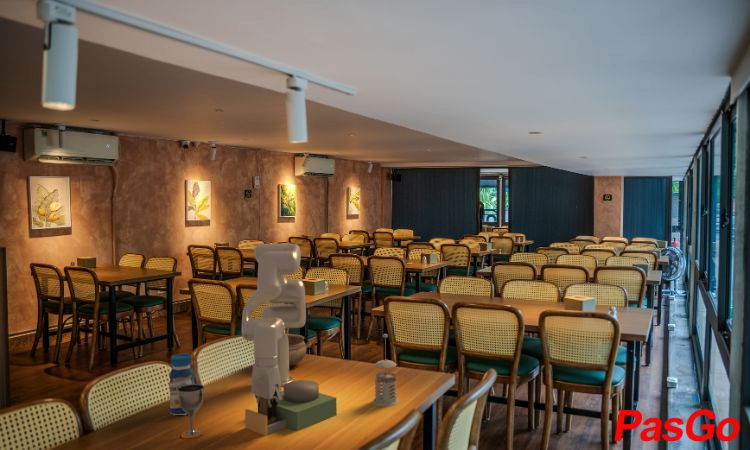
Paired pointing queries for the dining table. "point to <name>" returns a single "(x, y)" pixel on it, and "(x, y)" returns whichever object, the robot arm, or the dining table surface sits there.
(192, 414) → the wine glass
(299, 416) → the green box with dome
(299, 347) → the cooking pot
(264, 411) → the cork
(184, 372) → the beverage bottle
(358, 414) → the dining table surface
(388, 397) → the french press
